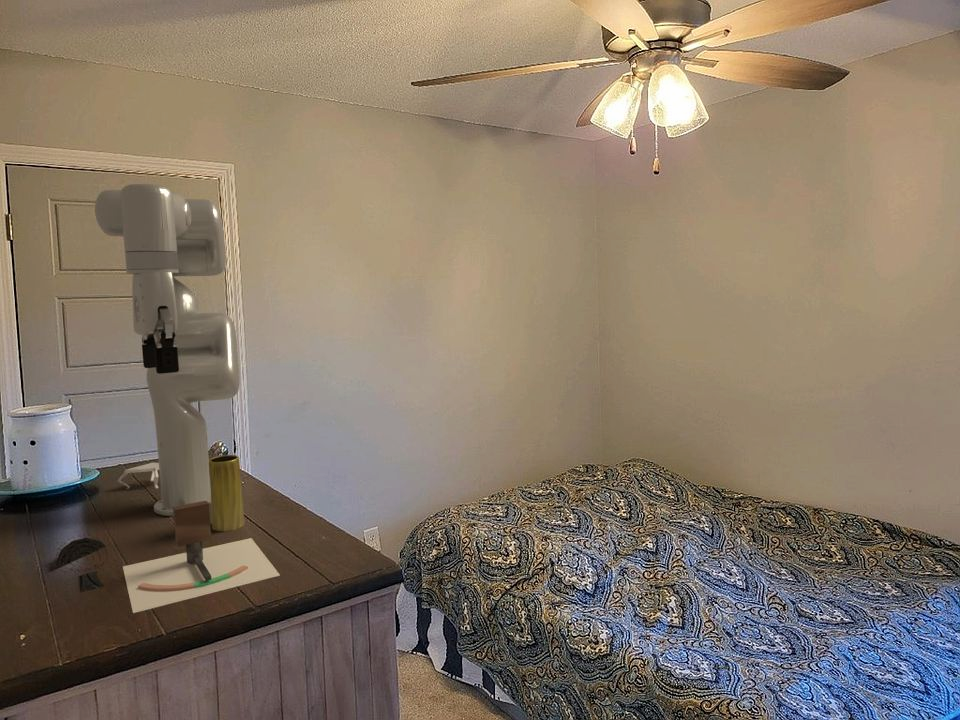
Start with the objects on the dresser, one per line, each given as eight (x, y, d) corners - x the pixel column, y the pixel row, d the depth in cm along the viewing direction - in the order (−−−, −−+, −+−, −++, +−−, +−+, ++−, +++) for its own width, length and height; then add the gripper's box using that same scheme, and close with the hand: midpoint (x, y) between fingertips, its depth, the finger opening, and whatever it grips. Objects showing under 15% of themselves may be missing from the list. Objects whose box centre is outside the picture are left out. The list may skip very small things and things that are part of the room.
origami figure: (169, 477, 159) (168, 457, 158) (181, 484, 152) (179, 464, 152) (115, 488, 151) (113, 467, 150) (125, 496, 144) (123, 475, 144)
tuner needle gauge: (177, 561, 105) (172, 506, 104) (209, 553, 107) (205, 499, 106) (190, 587, 95) (186, 527, 94) (226, 578, 98) (222, 519, 97)
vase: (209, 541, 117) (203, 464, 116) (213, 529, 123) (208, 455, 122) (245, 537, 119) (240, 461, 117) (247, 525, 125) (242, 452, 123)
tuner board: (123, 575, 104) (122, 564, 104) (251, 546, 115) (251, 535, 115) (134, 623, 89) (132, 610, 89) (280, 584, 100) (280, 572, 99)
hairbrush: (60, 603, 90) (51, 539, 110) (62, 628, 91) (53, 560, 111) (127, 587, 95) (107, 528, 115) (129, 610, 95) (108, 548, 116)
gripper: (116, 266, 109) (125, 367, 111) (136, 262, 95) (146, 377, 97) (165, 266, 113) (173, 363, 115) (191, 262, 100) (199, 372, 102)
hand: (160, 369), depth 106 cm, fingers open, 9 cm apart
